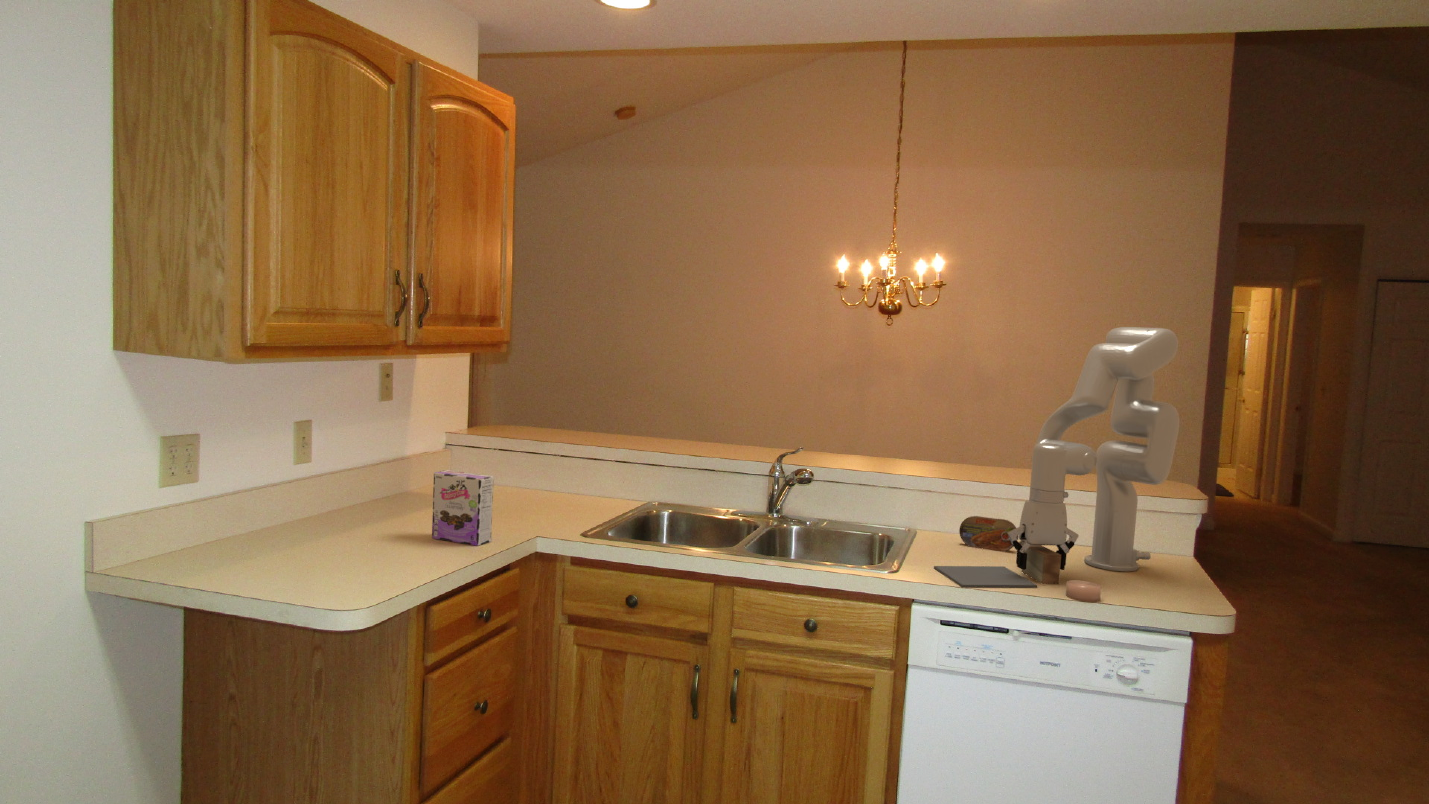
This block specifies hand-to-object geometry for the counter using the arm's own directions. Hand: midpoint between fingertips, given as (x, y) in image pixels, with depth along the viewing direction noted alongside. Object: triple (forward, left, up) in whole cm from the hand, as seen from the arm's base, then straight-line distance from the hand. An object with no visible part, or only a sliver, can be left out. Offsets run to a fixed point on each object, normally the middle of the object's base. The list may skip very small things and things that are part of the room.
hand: (1040, 568), depth 218 cm
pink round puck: (-2, +15, -2) cm, 15 cm away
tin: (-1, -29, -3) cm, 29 cm away
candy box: (+135, -31, -3) cm, 139 cm away
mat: (+14, 0, -2) cm, 14 cm away
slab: (0, 0, -2) cm, 2 cm away
